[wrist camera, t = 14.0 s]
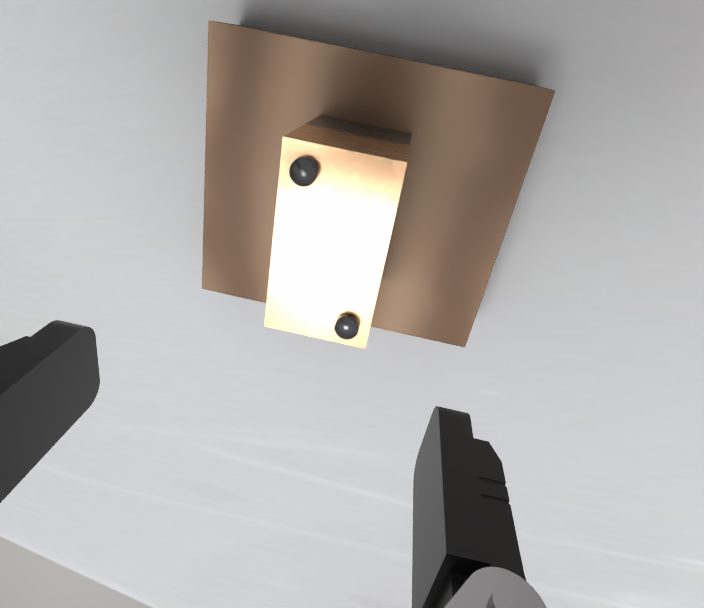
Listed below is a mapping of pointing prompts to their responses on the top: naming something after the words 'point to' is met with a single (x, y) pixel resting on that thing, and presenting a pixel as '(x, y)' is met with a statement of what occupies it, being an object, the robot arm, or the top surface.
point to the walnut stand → (419, 180)
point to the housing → (333, 227)
